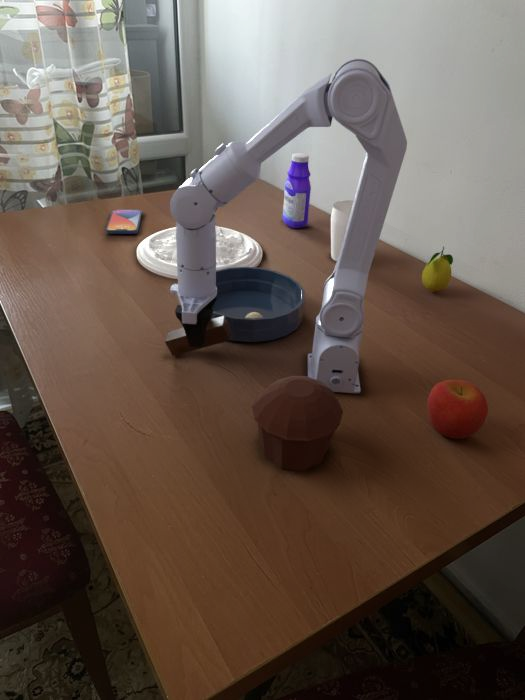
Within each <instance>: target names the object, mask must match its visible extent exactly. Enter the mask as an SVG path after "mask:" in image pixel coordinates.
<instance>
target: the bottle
mask: <svg viewBox="0 0 525 700" xmlns="http://www.w3.org/2000/svg"><path fill="white" fill-rule="evenodd" d="M309 158H310V155H309V154H307V153H302V152H301V153H300V152H297V153H292V155H291V161H290V166H289V169H288V170H287V178H286V180H285V182H284V194H283V207H282V221H283V223H284V224H285V225H286V226H287V227H289V228H292V229H300V228H301V229H302V228H305V227H306V226H307V225H308V222H309V211H310V202H311V190H312V186H311V185H312V184H311V181H310V177H311V172H310V169H309Z"/></svg>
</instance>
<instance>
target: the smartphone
mask: <svg viewBox="0 0 525 700" xmlns="http://www.w3.org/2000/svg"><path fill="white" fill-rule="evenodd" d="M142 214H143V213H142V210H141V209H113V210H112V211H111V214H110V216H109V220H108V222H107V224H106V228H105V232H106V233H107V234H108V235H119V234H121V235H122V234H124V235H125V234H126V235H127V234H128V235H129V234H130V235H131V234H133V235H134V234H138V232H139V228H140V223H141V220H142V216H143V215H142Z"/></svg>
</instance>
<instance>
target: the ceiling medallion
mask: <svg viewBox="0 0 525 700" xmlns="http://www.w3.org/2000/svg"><path fill="white" fill-rule="evenodd" d="M215 231H216V270H221V269H225V268H232V267H257V268H258V266H259V265H260V263H261V261H262V259H263V248H262V247H261V245H260V244H259V243H258V242H257V240H255V239H253V238H252V237H250V236H249V235H247V234H244V233H242V232H240V231H237V230H234V229H231V228H228V227H223V226H218V225H215ZM136 259H137V262H138V263H139V264H140V265H141V266H142V267H143V268H144V269H146V270H148V271H149V272H151V273H153V274H156V275H158V276H160V277H161V276H162V277H164V278H168V279H174V280H178V271H177V248H176V226H175V227H169V228H167V229H163V230H160V231H157V232H155V233H153V234H151V235H149V236H147V237H145V238H144V239H143V240H142V241H141V242H140V243H139V244H138V246H137V247H136Z"/></svg>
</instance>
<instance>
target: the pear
mask: <svg viewBox="0 0 525 700" xmlns="http://www.w3.org/2000/svg"><path fill="white" fill-rule="evenodd" d="M444 250H445V246H442V250H441V251H440V252H435V253H434V254H433V255H432V256H431V257H430V260H429V261H428V263H426V265H425V267H424V268H423V270H422V274H421V282H422V284H423V286H424V287H425V288H426V289H428V290H429V291H430V292H432V293H435V292H437V291H441V290H443V289H446V288H447V287H448V285H449V284H450V282H451V278H452V264H453V262H454V257H453V256H452V254H449V253H447V254H444Z"/></svg>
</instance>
